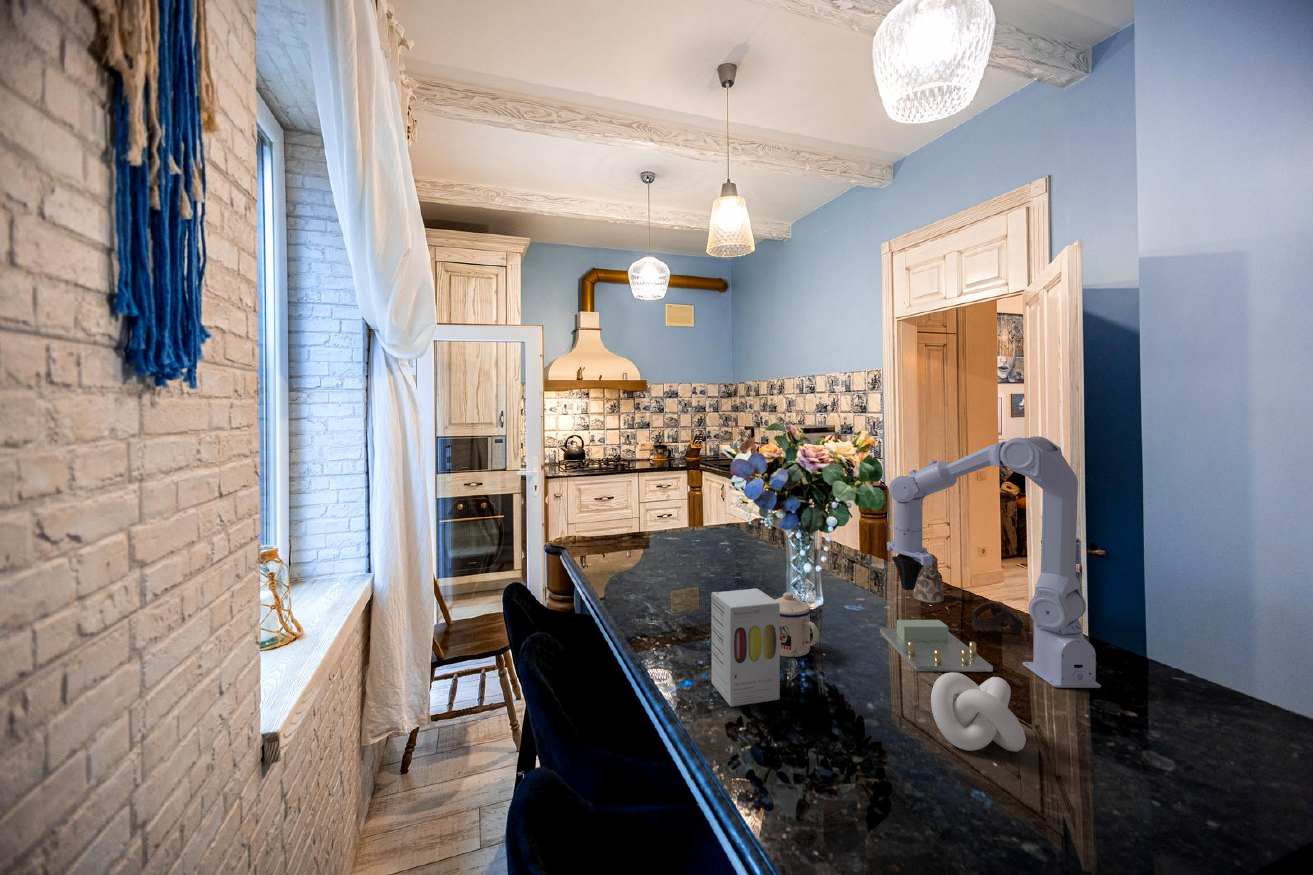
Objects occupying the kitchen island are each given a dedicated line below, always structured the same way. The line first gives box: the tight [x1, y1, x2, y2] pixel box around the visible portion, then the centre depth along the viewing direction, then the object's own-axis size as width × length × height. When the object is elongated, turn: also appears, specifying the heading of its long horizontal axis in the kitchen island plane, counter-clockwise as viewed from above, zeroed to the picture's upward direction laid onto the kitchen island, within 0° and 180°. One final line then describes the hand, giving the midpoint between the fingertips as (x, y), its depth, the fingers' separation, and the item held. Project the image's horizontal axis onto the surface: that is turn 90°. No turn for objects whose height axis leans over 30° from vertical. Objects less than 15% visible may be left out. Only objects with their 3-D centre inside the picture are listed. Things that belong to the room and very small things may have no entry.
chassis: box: [879, 627, 994, 673], centre depth 113 cm, size 19×14×4 cm
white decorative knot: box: [930, 672, 1027, 752], centre depth 82 cm, size 11×12×9 cm
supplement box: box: [711, 587, 781, 708], centre depth 97 cm, size 10×9×17 cm
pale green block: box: [896, 619, 949, 641], centre depth 118 cm, size 4×9×3 cm, turn 87°
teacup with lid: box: [774, 592, 820, 658], centre depth 114 cm, size 12×9×12 cm
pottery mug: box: [971, 601, 1028, 643], centre depth 122 cm, size 12×10×8 cm
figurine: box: [913, 551, 945, 604], centre depth 146 cm, size 7×7×12 cm
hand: (908, 589), depth 125 cm, fingers closed
